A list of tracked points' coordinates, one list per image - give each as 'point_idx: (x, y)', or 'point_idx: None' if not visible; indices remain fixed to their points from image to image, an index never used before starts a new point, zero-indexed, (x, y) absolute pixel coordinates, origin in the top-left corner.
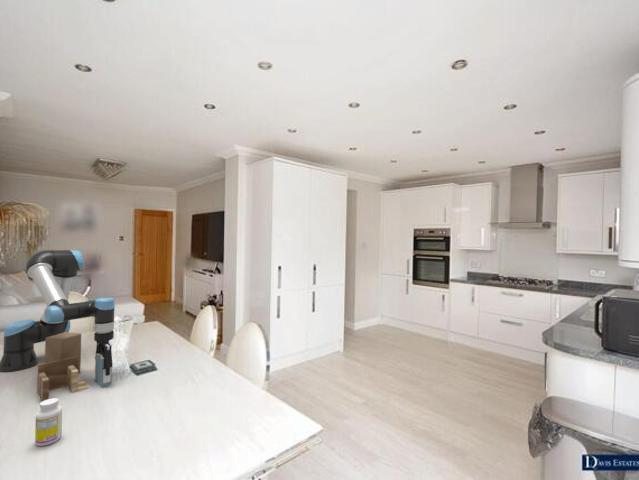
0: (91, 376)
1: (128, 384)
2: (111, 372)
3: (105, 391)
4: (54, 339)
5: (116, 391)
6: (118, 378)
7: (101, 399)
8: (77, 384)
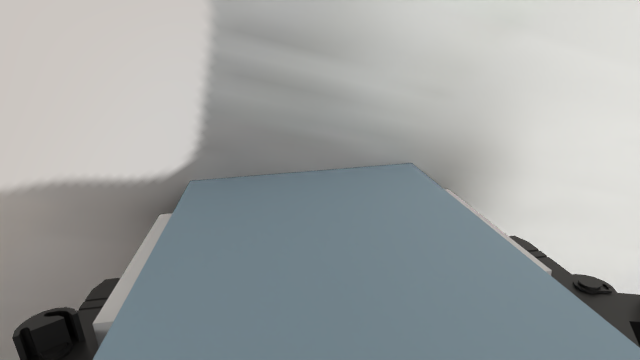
0: (33, 272)
1: (540, 34)
2: (468, 211)
3: (520, 225)
4: None
5: (595, 159)
6: (294, 70)
7: (632, 266)
8: None
